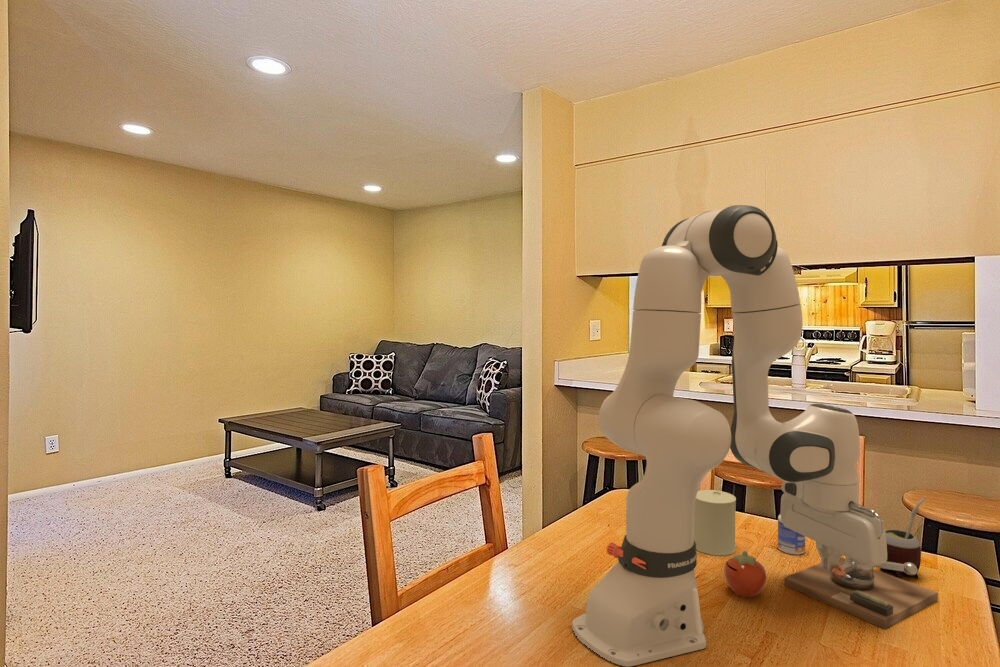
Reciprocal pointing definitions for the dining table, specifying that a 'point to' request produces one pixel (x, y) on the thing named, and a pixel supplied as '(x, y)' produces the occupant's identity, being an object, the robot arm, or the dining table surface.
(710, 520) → the can
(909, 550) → the mate gourd
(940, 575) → the dining table surface
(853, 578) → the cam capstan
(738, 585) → the tomato
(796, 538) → the pill bottle
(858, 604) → the stand board
